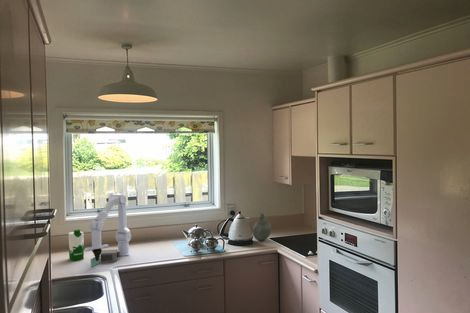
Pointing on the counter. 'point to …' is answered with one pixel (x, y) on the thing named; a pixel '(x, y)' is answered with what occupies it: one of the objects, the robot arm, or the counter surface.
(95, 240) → the robot arm
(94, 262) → the side door
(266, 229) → the flask
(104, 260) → the camera body
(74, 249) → the milk carton
